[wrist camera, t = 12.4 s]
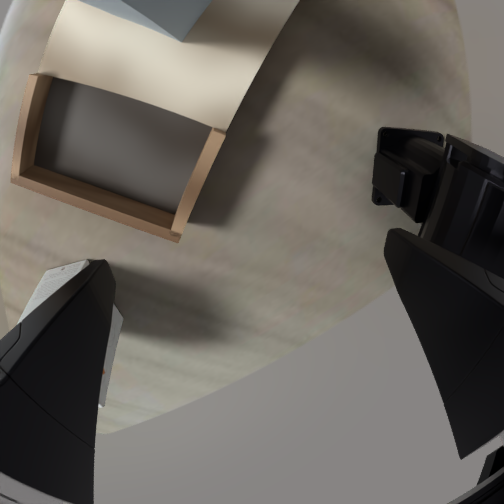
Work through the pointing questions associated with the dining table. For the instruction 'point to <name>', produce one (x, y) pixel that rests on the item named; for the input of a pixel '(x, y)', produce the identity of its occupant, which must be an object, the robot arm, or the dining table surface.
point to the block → (157, 13)
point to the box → (138, 109)
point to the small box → (52, 283)
